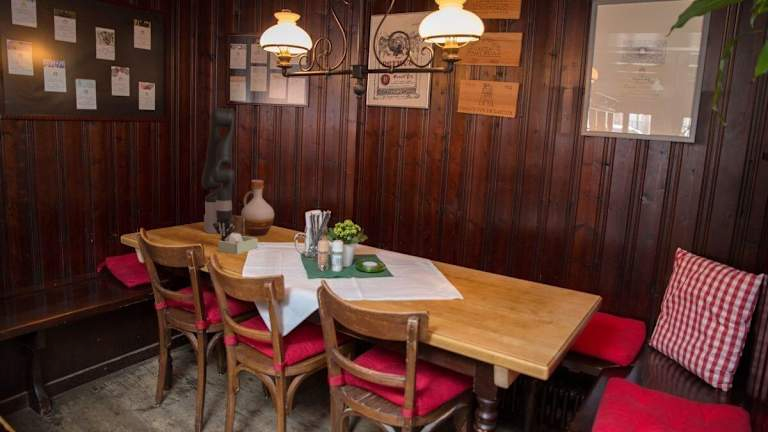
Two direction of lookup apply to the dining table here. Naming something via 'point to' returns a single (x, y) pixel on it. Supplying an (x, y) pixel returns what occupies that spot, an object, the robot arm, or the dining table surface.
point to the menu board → (238, 224)
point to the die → (234, 238)
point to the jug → (257, 211)
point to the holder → (238, 245)
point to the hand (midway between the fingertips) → (224, 242)
